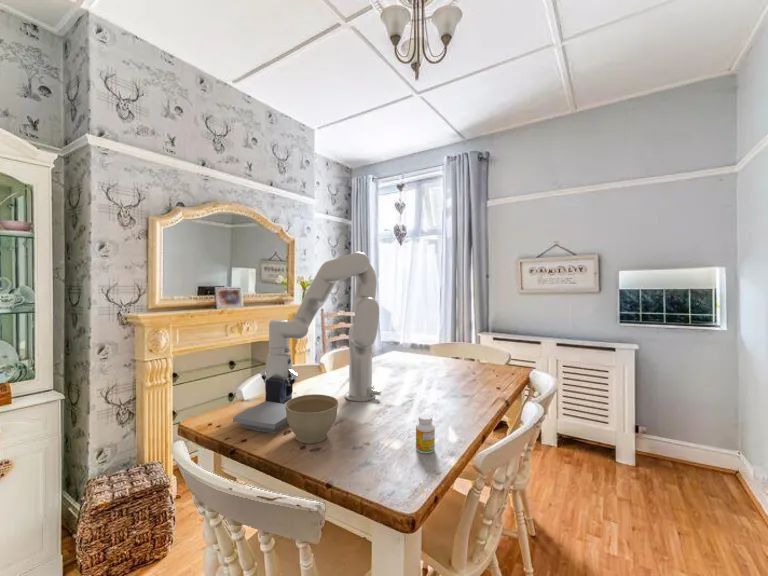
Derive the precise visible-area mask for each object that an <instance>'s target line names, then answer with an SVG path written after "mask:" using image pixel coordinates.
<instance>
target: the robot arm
mask: <svg viewBox="0 0 768 576" xmlns="http://www.w3.org/2000/svg"><path fill="white" fill-rule="evenodd" d="M354 276H355V294H354V300H353V305H352V310H353V313H354V321H353V323H352V324H351V326H350V327H349V330H348V346H349V347H348V352H349V355H348V357H349V359H348V361H349V362H348V366H349V368H348V370H349V371H348V373H349V374H348V375H349V377H348V385H349V386H348V391H347V392H346V393H345V399H346V400H348V401H352V402H368V401H371V400H374V399H375V398H376V396H378V397H379V396H380V397H381V395H382V391H381V389H379V388H375V384H373V345H374V344H375V342H376V340H377V335H378V327H379V319H380V306H379V303H378V301H377V300H376V294H377V275H376V271H375V269H374V268H373V266H372V265H371V263H370V258H369V257H368V255H367V254H366V253H365V252H361V251H356V252H353V253H349V254H346V255H344V256H341V257H338V258H335V259H331V260H328V261H325V262H323V264H321V266H320V267H319V269H318V271H317V272H316V275H315V276H314V278H313V280H312V281H311V283H310V285H309V287H308V289H307V290H306V293H305V295H304V297H303V300H302V301H301V303H300V306H299V307H298V309H297V310H296V313H295V314H294V317H293V318H292V320H286V319H279V318H278V319H273V320H271V321H269V323H268V354H267V358H266V362H265V363H266V364H265V368H263V369H261V370H260V371H259V374H260V376H261V379H262V380H263V383H264V384H265V389H264V390H265V391H264V392H265V394H266V379H268V378H270V377H272V378H279V379H283V380H284V381H285V382H286V384H287V385H288V386H286V396H289V395H291V394H292V395H293V385H294V384H295V383H296V382H297V380H298V378H299V374H298V373H297V372H295V371H294V368H293V367H294V366H293V359H292V354H291V352H292V349H291V348H290V344H289V343H290V340H289V339H292V340H293V339H295V340H301V339H304V338H305V337H306V336H307V335H308V333H309V327H310V325H311V323H312V322H313V320H314V319H315V317H316V315H317V313H318V311H319V310H320V309H321V308H322V307H323V306H324V305H325V303H326V302H327V300H328V298H329V296H330V294H331V293H332V291H333V289H334V288H335V286H336V284H337V282H339V281H341V280H346V279H349V278H351V277H354Z"/></svg>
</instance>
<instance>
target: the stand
mask: <svg viewBox="0 0 768 576" xmlns="http://www.w3.org/2000/svg"><path fill="white" fill-rule="evenodd" d="M285 404H286V403H285ZM285 404H282V403H275V402H268V401H266V400H264V401H263V402H260V403H259V404H256V405H254V406H252V407H251V408H249V409H247V410H245V411H243V412H241V413H239V414H237V415H235V416H234V417H233V416H232V420H233V421H232V423H237V424H242V429H248V430H252V431H257V432H264V433H267V434H275V433H276V432H277V431H279V430H281V429H282V428H283V427H285V426H286V425H289V424H288V421H287V416H286V409H285Z"/></svg>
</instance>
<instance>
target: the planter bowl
mask: <svg viewBox="0 0 768 576" xmlns="http://www.w3.org/2000/svg"><path fill="white" fill-rule="evenodd" d="M338 407H339V401H338V399H337V398H335V397H333V396H331V395H326V394H320V393H319V394H315V393H314V394H305V395H304V394H303V395H300V396H295V397H292V399H290V400H289V401H287V402H286V403H285V409H286V416H287V421H288V424H287V425H288V426H289V428H290V429H291V432H292V433H293V434H294V435H295V439H296V440H297V441H298V442H300V443H303V444H316V443H319V442H322V441H324V440H325V439H326V438H327V437H328V433H329V432H330V430H331V429H332V428H333V426H334V424H335V421H336V419H337V413H338Z"/></svg>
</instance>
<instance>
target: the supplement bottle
mask: <svg viewBox="0 0 768 576" xmlns="http://www.w3.org/2000/svg"><path fill="white" fill-rule="evenodd" d="M435 429H436V428H435V424H434V423H433V416H432V415H431V414H427V413H422V414H421V413H420V414H419V415H418V422H417V423H416V424H415V449H416V451H417V452H418V453H421V454H423V453H429V454H432V453H433V452H434V451H435V446H436V444H435V442H436V441H435V439H436V437H435V436H436V435H435V434H436V432H435ZM431 452H432V453H431Z"/></svg>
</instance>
